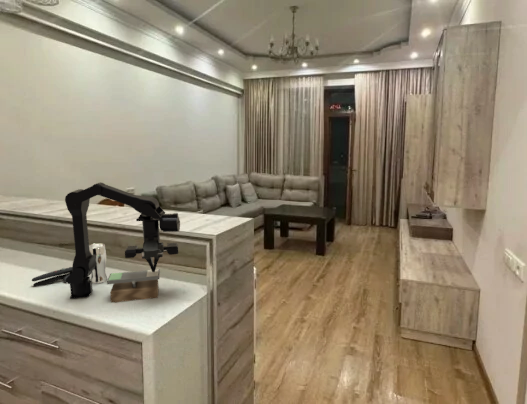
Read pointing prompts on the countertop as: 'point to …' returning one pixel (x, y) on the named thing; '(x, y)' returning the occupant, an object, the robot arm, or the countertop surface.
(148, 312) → the countertop surface
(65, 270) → the can opener
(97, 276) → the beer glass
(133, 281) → the grey flat panel
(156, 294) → the switch base
